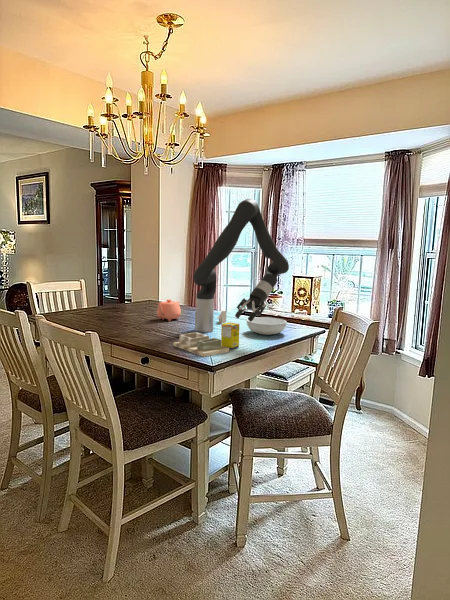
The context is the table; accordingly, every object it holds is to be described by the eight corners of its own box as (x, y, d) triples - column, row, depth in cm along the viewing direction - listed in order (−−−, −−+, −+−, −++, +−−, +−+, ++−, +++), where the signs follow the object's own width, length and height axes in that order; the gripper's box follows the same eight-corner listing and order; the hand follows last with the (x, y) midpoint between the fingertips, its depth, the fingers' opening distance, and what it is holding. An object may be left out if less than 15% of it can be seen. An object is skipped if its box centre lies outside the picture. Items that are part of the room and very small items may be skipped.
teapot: (170, 316, 258) (171, 296, 256) (186, 318, 252) (186, 298, 250) (149, 321, 241) (149, 300, 239) (165, 323, 235) (165, 302, 233)
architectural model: (216, 324, 240) (216, 311, 239) (221, 322, 246) (222, 309, 245) (221, 324, 239) (221, 311, 238) (227, 322, 245) (227, 310, 244)
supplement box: (239, 347, 188) (239, 323, 187) (231, 350, 183) (232, 325, 182) (228, 345, 191) (228, 321, 190) (220, 347, 187) (221, 323, 185)
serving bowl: (294, 334, 218) (294, 321, 217) (267, 340, 204) (268, 326, 203) (264, 327, 233) (264, 315, 232) (237, 332, 219) (238, 319, 218)
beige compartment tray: (173, 345, 188) (173, 334, 187) (198, 341, 197) (198, 331, 196) (203, 356, 171) (203, 345, 171) (229, 351, 180) (229, 340, 180)
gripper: (246, 285, 199) (228, 311, 193) (268, 288, 189) (249, 316, 183) (254, 295, 204) (236, 321, 198) (276, 299, 193) (257, 326, 187)
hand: (242, 318), depth 190 cm, fingers open, 8 cm apart
